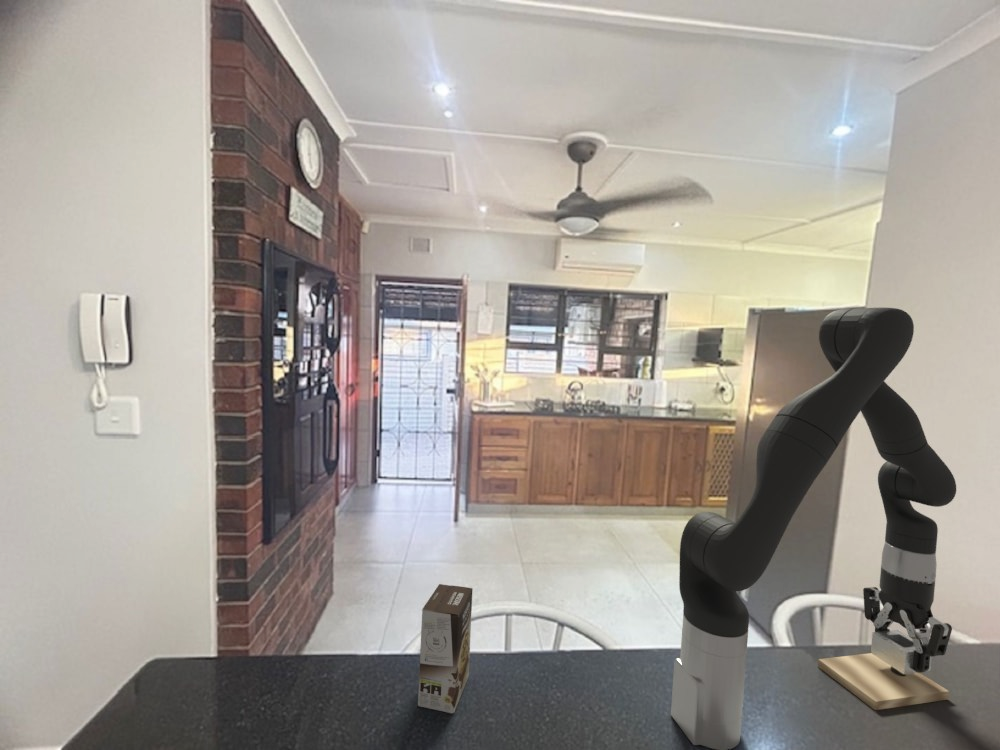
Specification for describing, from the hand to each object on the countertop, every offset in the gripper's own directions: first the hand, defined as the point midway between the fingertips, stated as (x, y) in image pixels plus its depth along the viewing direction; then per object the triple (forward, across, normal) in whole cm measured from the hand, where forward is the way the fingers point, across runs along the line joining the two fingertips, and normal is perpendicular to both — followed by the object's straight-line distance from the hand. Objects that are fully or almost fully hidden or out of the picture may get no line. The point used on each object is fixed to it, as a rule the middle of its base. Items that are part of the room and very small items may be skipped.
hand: (900, 658), depth 86 cm
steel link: (+1, 0, 0) cm, 1 cm away
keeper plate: (+4, 0, -4) cm, 6 cm away
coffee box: (+4, -10, -83) cm, 84 cm away
